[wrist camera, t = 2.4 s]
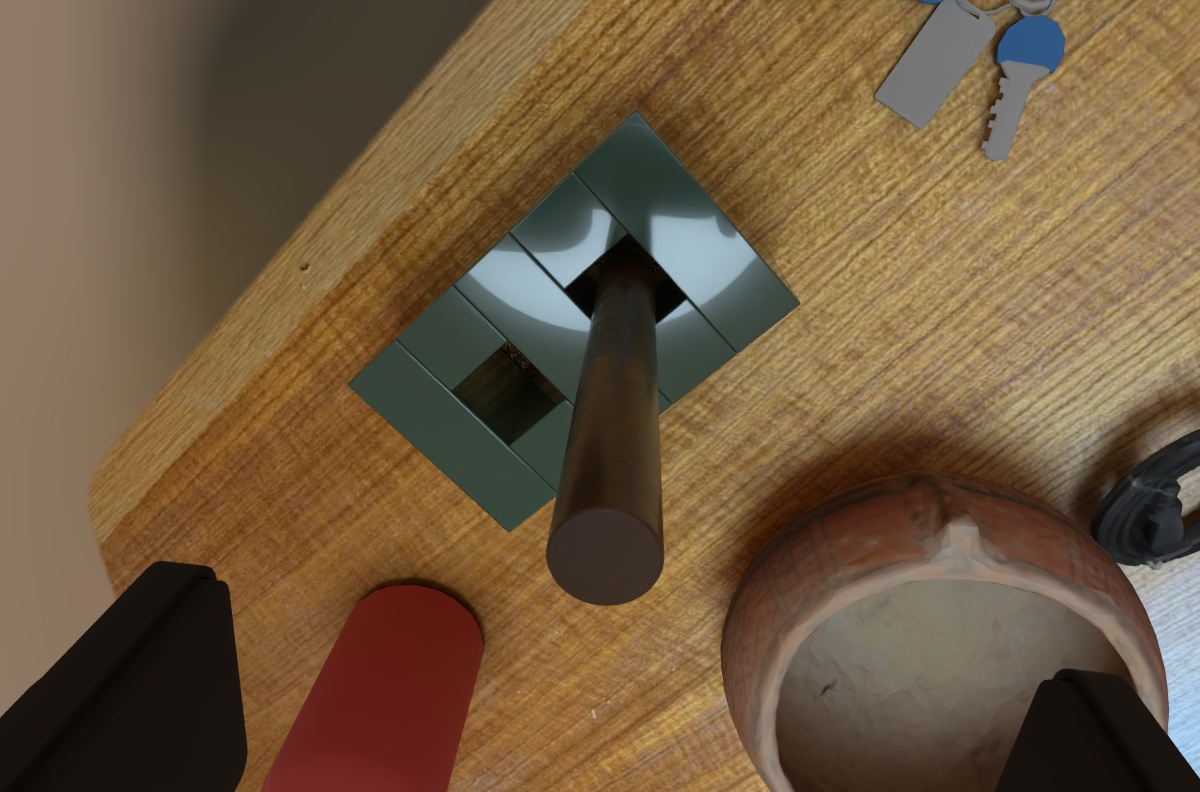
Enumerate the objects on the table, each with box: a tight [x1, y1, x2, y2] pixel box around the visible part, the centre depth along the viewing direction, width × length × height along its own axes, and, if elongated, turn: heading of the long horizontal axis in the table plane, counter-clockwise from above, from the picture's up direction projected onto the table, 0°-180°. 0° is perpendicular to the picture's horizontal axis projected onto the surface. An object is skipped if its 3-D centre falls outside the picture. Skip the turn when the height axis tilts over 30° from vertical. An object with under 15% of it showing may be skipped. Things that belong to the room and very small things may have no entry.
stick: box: [546, 232, 664, 606], centre depth 21 cm, size 2×2×20 cm
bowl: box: [720, 470, 1169, 792], centre depth 31 cm, size 16×16×10 cm
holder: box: [348, 97, 800, 532], centre depth 28 cm, size 13×8×6 cm, turn 133°
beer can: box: [261, 585, 484, 792], centre depth 33 cm, size 7×7×12 cm
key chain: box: [874, 0, 1065, 161], centre depth 26 cm, size 14×8×1 cm, turn 109°
